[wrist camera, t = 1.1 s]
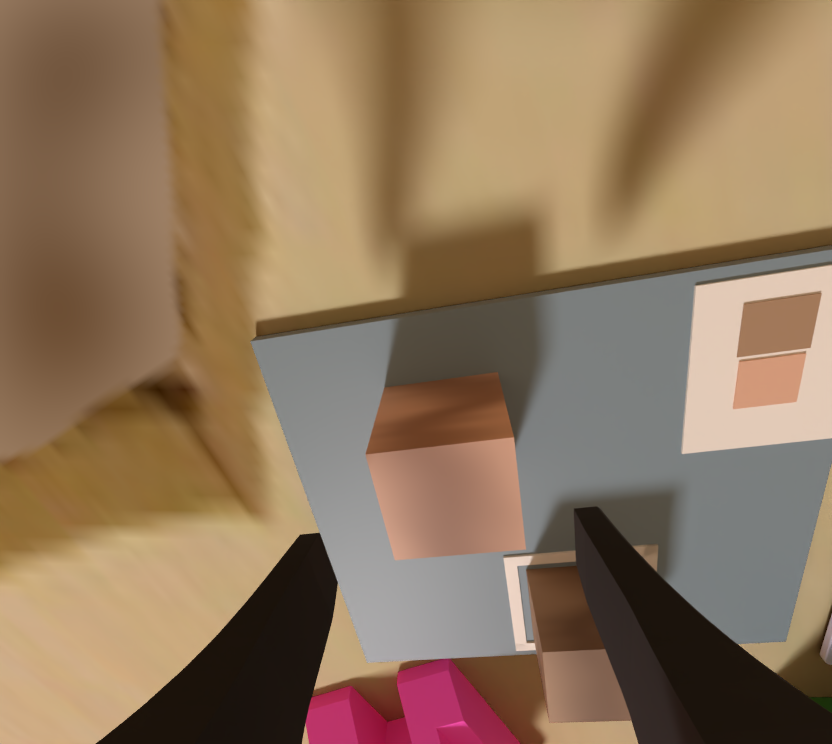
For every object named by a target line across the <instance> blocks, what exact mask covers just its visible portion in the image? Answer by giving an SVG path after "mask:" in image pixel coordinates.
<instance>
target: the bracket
mask: <svg viewBox="0 0 832 744" xmlns="http://www.w3.org/2000/svg"><path fill="white" fill-rule="evenodd" d="M397 687H398V691H399V695H400V699H401V703H402V707H403V711H404V715H405V717H404V718H400V719H396V720H393V721H389V722H387V721H386V720H385V719H384V718H383V717H382V716H381V715H380V714H379V713H378V712H377V711H376V710H375V709H374V708H373V707H372V706H371V705H370V704H369V703H368V702H367V701H366V700H365V699H364V698H363V697H362V696H361V695H360V694H359V693H358V692H357V691H356V690H355V689H354V688H353V687H352V686H348V687H345V688H342V689H338V690H335V691H331V692H328V693H325V694H321V695H318V696H314V697H312V698H311V702H310V705H309V710H308V714H307V718H306V728H307V733H308V739H309V744H520V742H519V741H518V740H517V739H516V738H515V736H514V735H513V734H512V733H511V732H510V730H509V729H508V728H507V727H506V726H505V724H504V723H503V722H502V721H501V720H500V718H499V717H498V716H497V715H496V714H495V712H494V711H493V710H492V709H491V708H490V706H489V705H488V704H487V703H486V702H485V700H484V699H483V698H482V697H481V695H480V694H479V693H478V692H477V691H476V689H475V688H474V687H473V686H472V685H471V683H470V682H469V681H468V680H467V679H466V677H465V676H464V675H463V674H462V673H461V671H460V670H459V669H458V668H457V667H456V665H455V664H454V663H453V662H452V661H451V659H450V658H449V659H440V660H437V661H433V662H430V663H426V664H423V665H420V666H416V667H413V668H409V669H406V670H403V671H399V672H398V678H397Z"/></svg>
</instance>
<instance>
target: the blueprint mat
mask: <svg viewBox="0 0 832 744" xmlns="http://www.w3.org/2000/svg"><path fill="white" fill-rule="evenodd" d="M250 342H251V344H252V347H253V350H254V353H255V355H256V358H257V361H258V364H259V366H260V369H261V372H262V375H263V377H264V380H265V383H266V386H267V388H268V391H269V394H270V397H271V399H272V402H273V405H274V408H275V410H276V413H277V416H278V419H279V421H280V424H281V427H282V430H283V432H284V435H285V438H286V441H287V443H288V446H289V449H290V452H291V454H292V457H293V460H294V463H295V465H296V468H297V471H298V474H299V476H300V479H301V482H302V485H303V487H304V490H305V493H306V496H307V498H308V501H309V504H310V507H311V509H312V512H313V515H314V518H315V520H316V523H317V526H318V529H319V531H320V534H321V537H322V540H323V542H324V545H325V548H326V551H327V553H328V556H329V559H330V562H331V564H332V567H333V570H334V573H335V575H336V578H337V581H338V584H339V586H340V589H341V592H342V595H343V597H344V600H345V603H346V606H347V608H348V611H349V614H350V617H351V619H352V622H353V625H354V628H355V630H356V633H357V636H358V639H359V641H360V644H361V647H362V650H363V652H364V655H365V658H366V661H367V663H369V662H389V661H409V660H429V659H449V658H468V657H488V656H508V655H528V654H537V653H536V648H535V642H534V637H533V629H532V619H531V610H530V601H529V592H528V583H527V574H526V570H527V569H540V568H553V567H566V566H577V565H576V553H575V530H574V508H584V507H595V506H597V507H599V508H600V509H601V510H602V511H603V512H604V514H605V515H606V516H607V517H608V519H609V520H610V521H611V522H612V523H613V525H614V526H615V527H616V528H617V529H618V530H619V532H620V533H621V534H622V535H623V536H624V537H625V539H626V540H627V541H628V542H629V543H630V544H631V545H632V546H633V547H634V549H635V550H636V551H637V552H638V553H639V554H640V555H641V556H642V557H643V558H644V559H645V560H646V561H647V562H648V563H649V564H650V565H651V566H652V567H653V568H654V570H655V571H656V572H657V573H658V574H659V575H660V576H661V577H662V578H663V579H664V580H665V581H666V582H667V583H668V584H669V585H670V586H672V587H673V588H674V589H675V590H676V591H677V592H678V593H679V594H680V595H681V596H682V597H683V598H684V599H685V600H686V601H687V602H689V603H690V604H691V605H692V606H693V607H694V608H695V609H696V610H697V611H699V612H700V613H701V614H702V615H703V616H704V617H705V618H707V619H708V620H709V621H710V622H711V623H712V624H714V625H715V626H716V627H717V628H718V629H720V630H721V631H722V632H723V633H724V634H725V635H727V636H728V637H729V638H730V639H732V640H733V641H734V642H735V643H737V644H746V643H765V642H785V641H786V639H787V635H788V631H789V627H790V623H791V619H792V616H793V612H794V608H795V604H796V600H797V596H798V592H799V588H800V584H801V580H802V577H803V573H804V569H805V565H806V561H807V557H808V553H809V549H810V545H811V541H812V538H813V534H814V530H815V526H816V522H817V518H818V514H819V510H820V506H821V502H822V499H823V495H824V491H825V487H826V483H827V479H828V475H829V471H830V467H831V463H832V245H829V246H823V247H817V248H811V249H804V250H798V251H792V252H786V253H779V254H773V255H767V256H760V257H754V258H748V259H742V260H735V261H729V262H723V263H716V264H710V265H704V266H698V267H691V268H685V269H679V270H673V271H666V272H660V273H654V274H647V275H641V276H635V277H629V278H622V279H616V280H610V281H603V282H597V283H591V284H585V285H578V286H572V287H566V288H559V289H553V290H547V291H541V292H534V293H528V294H522V295H516V296H509V297H503V298H497V299H490V300H484V301H478V302H472V303H465V304H459V305H453V306H446V307H440V308H434V309H428V310H421V311H415V312H409V313H403V314H396V315H390V316H384V317H377V318H371V319H365V320H359V321H352V322H346V323H340V324H333V325H327V326H321V327H315V328H308V329H302V330H296V331H289V332H283V333H277V334H271V335H264V336H258V337H255V338H254V339H253V340H251V341H250ZM494 372H498V375H499V379H500V383H501V387H502V391H503V395H504V399H505V403H506V407H507V411H508V415H509V419H510V423H511V427H512V431H513V435H514V442H515V451H516V460H517V470H518V479H519V488H520V498H521V507H522V517H523V526H524V535H525V545H526V550H514V551H502V552H490V553H478V554H466V555H454V556H441V557H429V558H417V559H405V560H395V559H394V556H393V552H392V548H391V545H390V541H389V538H388V534H387V531H386V527H385V523H384V520H383V516H382V513H381V509H380V505H379V502H378V498H377V495H376V491H375V488H374V484H373V480H372V477H371V473H370V470H369V466H368V462H367V459H366V455H365V454H366V450H367V447H368V443H369V440H370V436H371V433H372V429H373V426H374V422H375V419H376V415H377V411H378V408H379V404H380V401H381V397H382V394H383V390H384V388H385V387H392V386H399V385H406V384H414V383H421V382H428V381H436V380H443V379H450V378H458V377H465V376H472V375H480V374H487V373H494Z"/></svg>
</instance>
